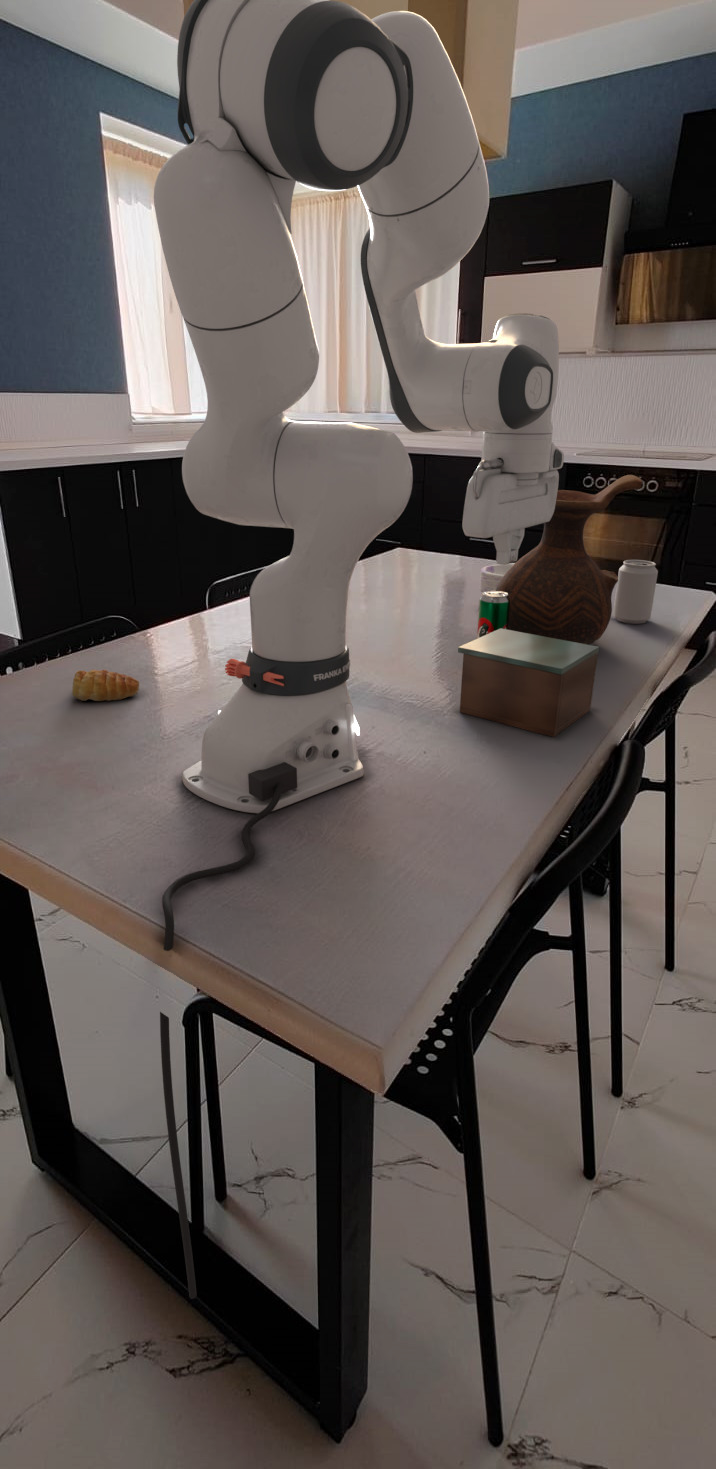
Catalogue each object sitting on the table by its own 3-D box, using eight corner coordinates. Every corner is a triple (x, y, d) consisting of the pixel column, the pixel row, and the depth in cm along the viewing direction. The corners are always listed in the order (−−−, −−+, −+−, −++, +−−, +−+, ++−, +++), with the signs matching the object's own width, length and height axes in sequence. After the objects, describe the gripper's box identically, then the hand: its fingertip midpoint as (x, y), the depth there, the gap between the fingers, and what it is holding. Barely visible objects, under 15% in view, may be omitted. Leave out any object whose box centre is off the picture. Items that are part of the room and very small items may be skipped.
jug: (562, 669, 129) (585, 482, 117) (465, 641, 144) (477, 472, 132) (632, 646, 142) (658, 475, 130) (536, 622, 157) (552, 467, 145)
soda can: (504, 668, 130) (510, 597, 125) (474, 666, 130) (479, 596, 126) (505, 659, 134) (511, 591, 129) (476, 657, 135) (480, 589, 130)
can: (653, 618, 160) (663, 560, 156) (644, 626, 155) (654, 566, 150) (617, 613, 164) (625, 556, 159) (607, 621, 158) (615, 562, 154)
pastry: (143, 686, 119) (140, 663, 118) (135, 702, 113) (132, 678, 112) (81, 688, 119) (78, 664, 117) (70, 704, 113) (66, 679, 111)
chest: (459, 712, 111) (463, 653, 107) (500, 688, 120) (505, 634, 117) (553, 737, 103) (561, 675, 99) (590, 710, 112) (598, 652, 109)
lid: (457, 652, 108) (458, 647, 108) (500, 633, 117) (500, 628, 117) (561, 674, 99) (562, 668, 99) (598, 652, 109) (599, 646, 108)
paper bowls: (470, 597, 177) (473, 562, 173) (535, 596, 178) (538, 561, 175) (488, 614, 163) (491, 576, 159) (557, 612, 164) (562, 575, 161)
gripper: (499, 462, 91) (490, 578, 97) (569, 454, 106) (558, 555, 112) (453, 459, 95) (447, 571, 100) (527, 452, 110) (518, 550, 115)
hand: (506, 563), depth 106 cm, fingers closed
